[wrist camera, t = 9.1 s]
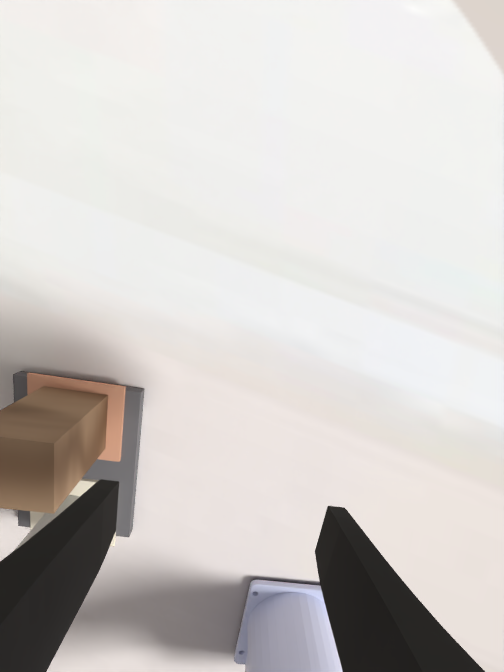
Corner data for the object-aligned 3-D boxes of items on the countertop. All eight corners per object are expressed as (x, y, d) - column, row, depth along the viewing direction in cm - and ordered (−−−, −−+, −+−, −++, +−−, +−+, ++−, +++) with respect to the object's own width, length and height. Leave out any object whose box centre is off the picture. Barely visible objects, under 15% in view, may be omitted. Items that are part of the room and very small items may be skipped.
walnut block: (105, 448, 18) (53, 513, 13) (44, 440, 18) (-32, 504, 13) (108, 394, 17) (53, 443, 12) (44, 385, 17) (-39, 432, 12)
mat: (131, 537, 21) (127, 548, 20) (25, 526, 20) (16, 537, 19) (144, 384, 18) (140, 389, 17) (20, 367, 17) (10, 371, 16)
